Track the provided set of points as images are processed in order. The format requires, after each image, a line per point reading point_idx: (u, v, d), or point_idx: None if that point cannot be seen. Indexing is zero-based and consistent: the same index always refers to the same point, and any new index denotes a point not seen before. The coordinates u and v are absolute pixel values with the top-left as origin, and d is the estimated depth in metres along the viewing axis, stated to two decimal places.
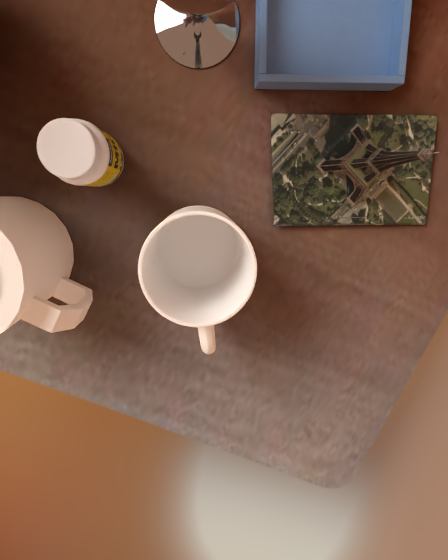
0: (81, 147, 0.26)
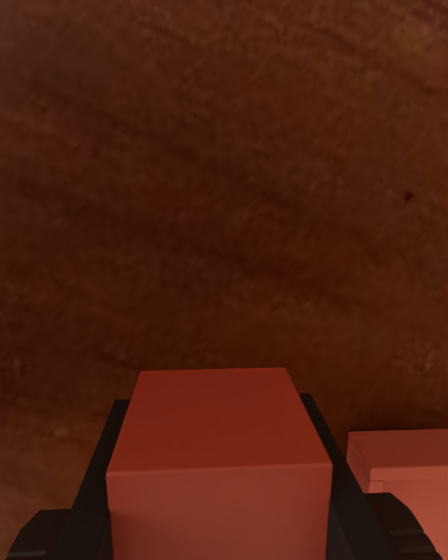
0: None
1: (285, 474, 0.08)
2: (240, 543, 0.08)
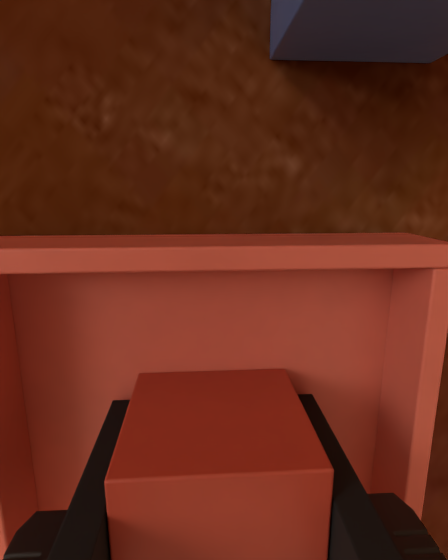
0: None
1: (286, 480, 0.08)
2: (241, 549, 0.08)
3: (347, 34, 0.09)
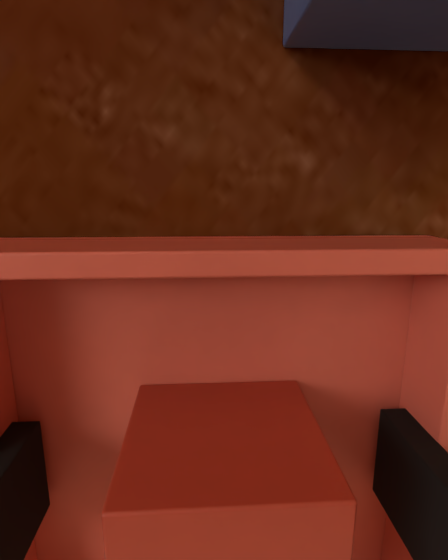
0: None
1: (304, 513, 0.07)
2: None
3: (371, 17, 0.08)
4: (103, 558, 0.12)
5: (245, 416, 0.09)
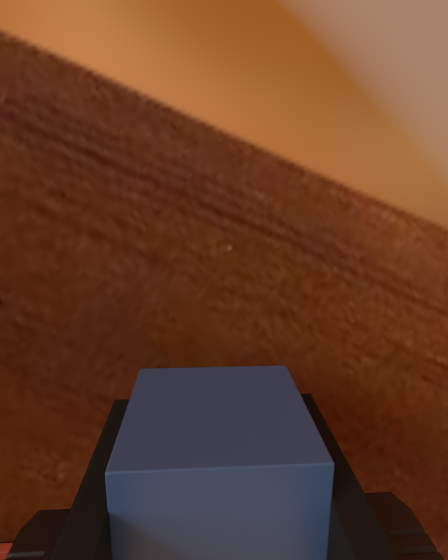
0: None
1: None
2: None
3: None
4: None
5: None
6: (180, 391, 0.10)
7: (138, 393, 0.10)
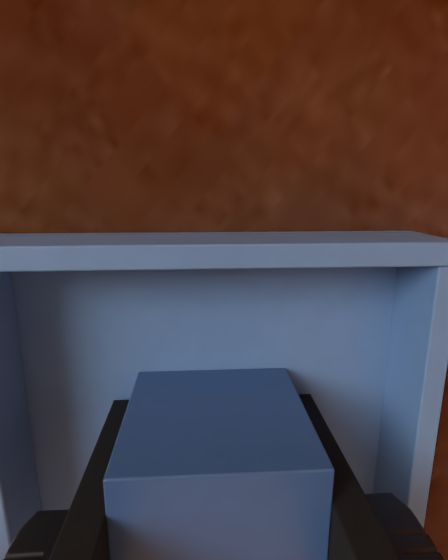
0: None
1: None
2: None
3: None
4: None
5: None
6: (179, 395, 0.10)
7: (137, 396, 0.10)
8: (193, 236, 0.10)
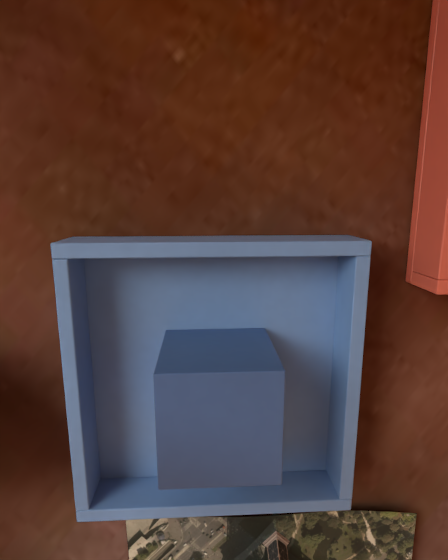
0: None
1: None
2: None
3: None
4: None
5: None
6: (194, 340, 0.16)
7: (166, 341, 0.16)
8: (203, 238, 0.16)
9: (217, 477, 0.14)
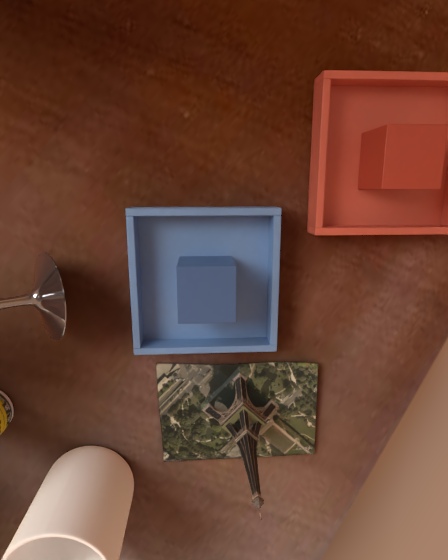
0: None
1: (435, 126, 0.28)
2: (421, 150, 0.28)
3: None
4: (339, 207, 0.33)
5: None
6: (194, 259, 0.32)
7: (180, 259, 0.32)
8: (198, 207, 0.32)
9: (205, 318, 0.30)
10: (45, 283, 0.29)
